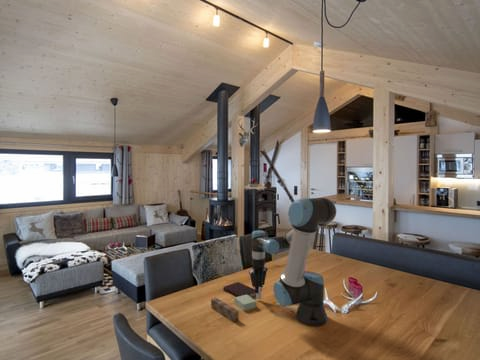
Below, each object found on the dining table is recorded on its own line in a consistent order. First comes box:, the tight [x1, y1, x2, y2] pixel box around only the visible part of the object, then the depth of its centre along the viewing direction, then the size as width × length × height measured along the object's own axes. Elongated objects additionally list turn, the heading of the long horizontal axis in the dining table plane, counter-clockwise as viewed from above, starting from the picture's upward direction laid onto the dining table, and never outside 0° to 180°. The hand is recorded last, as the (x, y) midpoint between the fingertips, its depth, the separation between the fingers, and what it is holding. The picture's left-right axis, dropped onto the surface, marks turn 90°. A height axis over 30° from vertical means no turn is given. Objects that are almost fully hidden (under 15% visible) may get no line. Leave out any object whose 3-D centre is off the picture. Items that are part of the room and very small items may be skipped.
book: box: [222, 281, 256, 299], centre depth 181 cm, size 12×19×3 cm, turn 39°
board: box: [210, 297, 240, 323], centre depth 154 cm, size 20×3×5 cm, turn 40°
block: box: [234, 295, 257, 312], centre depth 163 cm, size 10×8×4 cm
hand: (258, 298), depth 170 cm, fingers closed
